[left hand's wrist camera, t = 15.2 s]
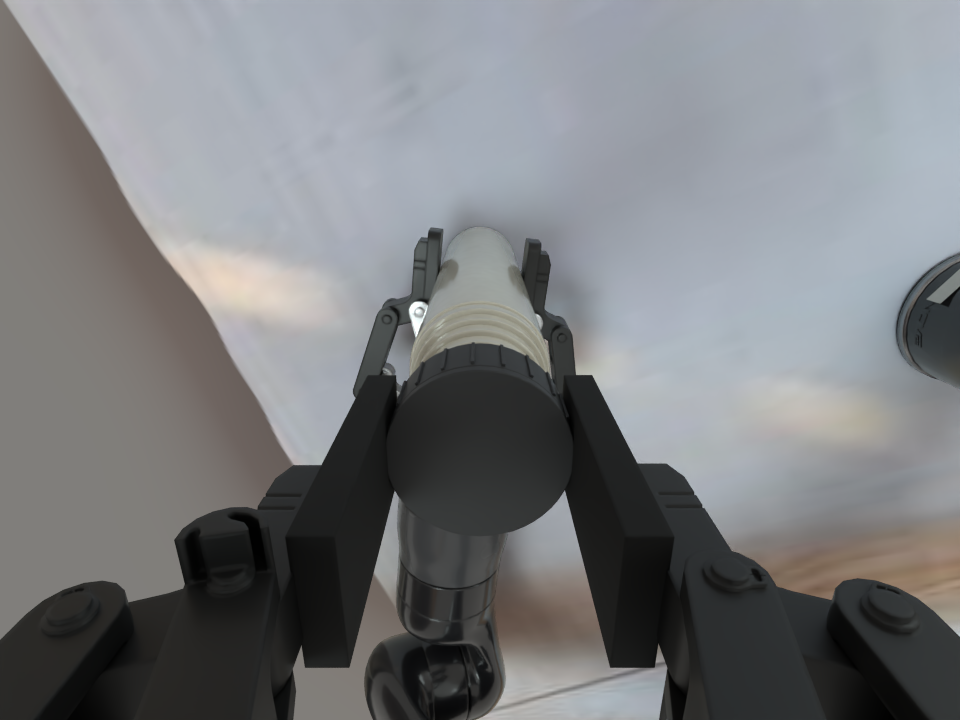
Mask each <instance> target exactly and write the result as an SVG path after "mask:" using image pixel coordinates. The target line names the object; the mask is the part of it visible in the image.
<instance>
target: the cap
mask: <svg viewBox="0 0 960 720" xmlns="http://www.w3.org/2000/svg"><path fill="white" fill-rule="evenodd" d="M569 419H570V417H569V414H568V412H567V409H566V406H565V403H564V400H563V397H562V394H561V393H560V394H559V393H558V391H557V389H556V387H555V384H554V383H553V381H552V380H551V377H550V374H549V373H548V371H547V372H545V371H544V370H543V369H542V368H541V367H540V366H539V365H538V364H537V363H536V362H534V361H533V360H532V359H530V358H529V356H528V355H527V354H526V356H525V355H524V354H522V353H520V352H517V351H515V350H513V349H510V348H507V347H504V346H503V345H502V344H500V346H499V345H494V344H484V343H476V344H475V342H472V344H465V345H460V346H456V347H452V348H449V349H447V348H445V349H444V351H442V352H440V353H437V354H436V355H434V356H432V357H431V358H429V359H428V360H426V361H425V362H423V361H422V362H421V363H420V366H419V367H418V368H417V369H416V370H415V371H414V372H413V373H412V375H411V376H410V377H409V379H408V380H407V381H404V383H403V385H402V388H401V391H400V394H399V397H398V400H397V403H396V407H395V410H394V413H393V416H392V419H391V422H390V425H389V428H388V432H387V436H386V449H387V464H388V476H389V479H390V482H391V484H392V486H393V488H394V490H395V492H396V493H397V495H398V496H399V498H400V499H401V500H402V501H403V503H404V504H405V505H406V506H407V507H408V508H409V509H410V510H411V511H412V512H413V513H414V514H415V515H417V516H418V517H420V518H421V519H422V520H424V521H426V522H427V523H429V524H431V525H433V526H435V527H437V528H440V529H442V530H445V531H448V532H452V533H455V534H460V535H466V536H493V535H499V534H504V533H508V532H511V531H514V530H517V529H520V528H522V527H524V526H526V525H528V524H530V523H532V522H534V521H535V520H537V519H538V518H540V517H541V516H542V515H544V514H545V513H546V512H547V511H548V510H549V509H550V508H552V506H553V505H554V504H555V503H556V502H557V501H558V499H559V498H560V497H561V495H562V493H563V492H564V490H565V488H566V486H567V484H568V482H569V480H570V477H571V473H572V459H573V443H574V442H573V435H572V432H571V429H570V425H569V422H568V420H569Z"/></svg>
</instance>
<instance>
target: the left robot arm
mask: <svg viewBox="0 0 960 720" xmlns="http://www.w3.org/2000/svg"><path fill="white" fill-rule="evenodd" d="M562 397H563V400H564V403H565V406H566V409H567V412H568V414H569V417H570V419H569V420H568V422H569V425H570V429H571V432H572V435H573V442H574V443H573V459H572V473H571V477H570V480H569V482H568V484H567V486H566V488H565V492H566V496H567V499H568V503H569V507H570V511H571V515H572V519H573V523H574V527H575V531H576V535H577V539H578V543H579V547H580V551H581V554H582V558H583V562H584V566H585V570H586V574H587V578H588V582H589V586H590V590H591V594H592V598H593V602H594V605H595V609H596V613H597V617H598V621H599V625H600V629H601V633H602V637H603V641H604V645H605V649H606V653H607V657H608V660H609V664H610V668H655V662H656V655H657V649H658V643H659V646H660V649H661V651H662V654H663V657H664V659H665V662H666V665H667V668H668V669H667V675H666V681H665V687H664V693H663V699H662V705H661V711H660V718H659V720H960V637H959V636H958V635H957V634H956V633H955V632H954V631H953V630H952V629H951V628H950V627H949V626H948V625H947V624H946V623H945V622H944V621H943V620H942V619H941V618H940V617H939V616H938V615H937V614H936V613H935V612H934V611H933V610H931V609H930V608H929V607H928V606H926V605H925V604H924V603H923V602H921V601H920V600H919V599H917V598H916V597H914V596H912V595H910V594H908V593H906V592H904V591H903V590H901V589H899V588H897V587H894V586H891V585H888V584H885V583H882V582H879V581H875V580H866V579H858V578H857V579H852V580H846V581H843V582H842V583H841V584H840V585H838V586H837V587H836V588H835V592H834V595H833V598H832V600H828V599H824V598H819V597H815V596H811V595H806V594H802V593H797V592H793V591H790V590H786V589H783V588H780V587H777V586H776V585H775V583H774V581H773V580H772V578H771V577H770V575H769V573H768V572H767V571H766V570H765V569H763V568H762V567H761V566H760V565H759V564H757V563H756V562H755V561H753V560H751V559H749V558H747V557H745V556H743V555H741V554H739V553H736V552H732V551H731V549H730V548H729V546H728V545H727V543H726V541H725V540H724V538H723V537H722V535H721V534H720V532H719V530H718V529H717V527H716V526H715V524H714V523H713V521H712V519H711V518H710V516H709V515H708V513H707V512H706V510H705V508H702V504H701V502H700V501H699V499H698V497H697V496H696V495H694V491H693V490H692V488H691V486H690V485H689V483H688V482H687V480H686V479H685V477H684V476H683V475H681V474H680V473H678V472H677V471H676V470H674V469H673V468H672V467H670V466H669V465H668V464H637V462H636V460H635V458H634V456H633V454H632V452H631V450H630V448H629V447H628V445H627V443H626V441H625V439H624V437H623V435H622V433H621V431H620V429H619V427H618V425H617V423H616V421H615V419H614V417H613V415H612V413H611V411H610V409H609V407H608V405H607V404H606V402H605V400H604V398H603V396H602V394H601V392H600V390H599V388H598V386H597V384H596V382H595V380H594V378H593V376H592V375H564V378H563V395H562ZM396 403H397V383H396V375H367V377H366V379H365V381H364V383H363V385H362V387H361V389H360V391H359V393H358V395H357V397H356V399H355V401H354V403H353V405H352V407H351V409H350V411H349V413H348V415H347V417H346V418H345V420H344V422H343V424H342V426H341V428H340V430H339V432H338V434H337V436H336V438H335V440H334V442H333V444H332V446H331V448H330V450H329V452H328V454H327V456H326V458H325V459H324V461H323V463H322V465H293V466H292V467H291V468H289V469H288V470H287V471H285V472H284V473H282V474H281V475H280V476H278V477H277V478H276V479H275V480H274V482H273V483H272V485H271V487H270V488H269V490H268V491H267V493H266V497H264V498H263V499H262V501H261V502H260V504H259V505H258V510H255V509H252V508H248V507H233V508H227V509H223V510H218V511H214V512H211V513H209V514H207V515H204V516H202V517H200V518H197V519H196V520H194V521H193V522H192V523H190V524H189V525H187V526H186V527H185V528H183V529H182V530H181V532H180V533H179V534H178V536H177V537H176V538H175V540H174V541H175V545H176V549H177V553H178V557H179V561H180V566H181V570H182V574H183V578H184V582H185V586H184V588H183V589H181V590H178V591H174V592H171V593H168V594H163V595H159V596H155V597H150V598H146V599H142V600H137V601H133V602H129V603H128V600H127V597H126V593H125V590H124V589H122V588H121V587H120V586H119V585H118V584H117V583H112V582H107V581H97V582H89V583H83V584H80V585H77V586H74V587H71V588H68V589H65V590H62V591H60V592H59V593H57V594H55V595H53V596H51V597H49V598H47V599H45V600H44V601H42V602H41V603H40V604H38V605H37V606H36V607H35V608H33V609H32V610H31V611H30V612H28V613H27V614H26V615H25V616H24V617H23V618H22V619H21V620H20V621H19V622H18V623H17V624H16V625H15V626H14V627H13V628H12V629H11V630H10V631H9V632H8V633H7V634H6V635H5V636H4V637H3V638H2V639H1V640H0V720H293V716H294V706H295V695H296V688H295V681H294V675H293V667H294V664H295V661H296V658H297V655H298V653H299V650H300V647H301V645H302V651H303V657H304V664H305V668H349V667H350V663H351V659H352V655H353V651H354V647H355V643H356V639H357V635H358V632H359V628H360V624H361V620H362V616H363V612H364V608H365V604H366V600H367V596H368V592H369V588H370V584H371V581H372V577H373V573H374V569H375V565H376V561H377V557H378V553H379V549H380V545H381V541H382V537H383V534H384V530H385V526H386V522H387V518H388V514H389V510H390V506H391V502H392V498H393V494H394V488H393V486H392V484H391V482H390V479H389V476H388V464H387V449H386V436H387V432H388V428H389V425H390V422H391V419H392V416H393V413H394V410H395V407H396Z"/></svg>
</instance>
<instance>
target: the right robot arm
mask: <svg viewBox="0 0 960 720" xmlns="http://www.w3.org/2000/svg"><path fill="white" fill-rule="evenodd" d="M442 241H443V229H439V228H430V230H429V232H428V238H424V237H421V239H420V240H419V241H418V244H417V246H416V248H415V250H414V266H413V281H412V293H411V294H410V295H409V296H407V297H404V298H400V299H395V298H391V299H388V300H387V301H386V302H385V303H384V305H383V307H382V309H381V310H380V311H379V312H378V314H377V316H376V319H375V322H374V326H373V329H372V332H371V335H370V338H369V341H368V344H367V348H366V351H365V354H364V357H363V360H362V363H361V366H360V370H359V373H358V376H357V379H356V382H355V385H354V388H353V394H354V396H355V398H356V397H357V395H358V393H359V391H360V389H361V387H362V385H363V383H364V381H365V379H366V377H367V375H395V368H394V367H393V366H392V365H391V364H389V363H386V360H387V357H388V354H389V351H390V348H391V345H392V343H393V340H394V337H395V334H396V331H397V328H398V325H403V324H407V323H412V326H413V330H414V333H415V336H417V333H418V331H419V328H420V325H421V322H422V319H423V316H424V314H425V311H426V308H427V305H428V302H429V299H430V297H431V294H432V291H433V288H434V285H435V282H436V280H437V277H438V274H439V271H440V266H441V253H442ZM550 267H551V264H550V259H549V255H548V254H547V252H546V251H541V242H540V241H539V240H536V239H527V238H526V242H525V248H524V256H523V263H522V270H521V275H522V278H523V281H524V284H525V286H526V289H527V292H528V295H529V298H530V301H531V304H532V306H533V309H534V312H535V315H536V318H537V321H538V324H539V326H540V329H541V332H542V335H543V338H544V339H546V340H548V346H549V356H550V365H551V375H552V379H551V380H552V381H553V383H554V384H555V387H556V389H557V391H558V393H559V394H560V393H561V394H562V395H563V378H564V375H576V371H575V360H574V349H573V337H572V333H571V331H570V329H569V327H568V325H567V324H566V322H565V320H564V319H563V318H562V317H560V316H554V315H552V314H550V313H548V312H547V311H545V309H544V305H545V299H546V292H547V286H548V279H549V273H550ZM897 338H898V344H899V348H900V351H901V353H902V355H903V356H904V358H905V360H906V361H907V362H908V363H909V364H910V365H911V366H912V367H913V368H915V369H916V370H918V371H919V372H921V373H923V374H925V375H927V376H929V377H932V378H935V379H938V380H941V381H943V382H945V383H947V384H949V385H951V386H953V387H955V388H958V389H960V254H959V255H956V256H954V257H952V258H950V259H948V260H946V261H944V262H943V263H941V264H939V265H938V266H936V267H935V268H934V269H932V270H931V271H930V272H929V273H928V274H926V275H925V276H924V277H923V278H922V279H921V280H920V281H919V283H918V284H917V285H916V286H915V287H914V289H913V290H912V291H911V293H910V294H909V296H908V298H907V299H906V301H905V303H904V305H903V308H902V310H901V313H900V316H899V320H898V327H897ZM396 383H397V382H396ZM401 388H402V386H401V385H399V384H398V383H397V400H398V397H399V394H400V391H401ZM397 528H398V539H399V561H398V576H397V587H396V606H397V612H398V616H399V618H400V621H401V623H402V625H403V626H404V628H405V629H406V630H407V631H408V632H406V633H403V634H399V635H396V636H392V637H389V638H387V639H385V640H383V641H382V642H380V643H379V644H378V645H377V646H376V648H375V649H374V650H373V652H372V654H371V656H370V658H369V660H368V663H367V666H366V671H365V678H364V687H365V696H366V700H367V704H368V708H369V711H370V713H371V716H372V718H373V720H476V719H479V718H481V717H483V716H485V715H486V714H488V713H489V712H490V711H491V710H492V709H493V708H494V707H495V706H496V705H497V703H498V702H499V700H500V698H501V696H502V694H503V691H504V688H505V682H506V675H505V667H504V661H503V657H502V653H501V649H500V645H499V639H498V633H497V626H496V617H495V605H494V598H495V592H496V584H497V577H498V570H499V564H500V559H501V555H502V552H503V549H504V546H505V543H506V539H507V535H508V533H504V534H499V535H493V536H466V535H460V534H455V533H452V532H448V531H445V530H442V529H440V528H437V527H435V526H433V525H431V524H429V523H427V522H426V521H424V520H422V519H421V518H420V517H418V516H417V515H415V514H414V513H413V512H412V511H411V510H410V509H409V508H408V507H407V506H406V505H405V504H404V503H403V501H402V500H401V499H400V498H399V503H398V518H397Z"/></svg>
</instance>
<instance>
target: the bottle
mask: <svg viewBox="0 0 960 720" xmlns="http://www.w3.org/2000/svg"><path fill="white" fill-rule="evenodd" d="M472 342H475V344H476V343H484V344H494V345H499V346H500V344H502V345H503V346H504V347H507V348H510V349H513V350H515V351H517V352H520V353H522V354H524V355H525V356H526V354H527V355H528V356H529V358H530V359H532V360H533V361H534V362H536V363H537V364H538V365H539V366H540V367H541V368H542V369H543V370H544V371H545V372H547V371H548V373H549V374H550V361H549V354H548V350H547V347H546V344H545V341H544V338H543V335H542V332H541V329H540V326H539V324H538V321H537V318H536V315H535V312H534V309H533V306H532V304H531V301H530V298H529V295H528V292H527V289H526V286H525V284H524V281H523V278H522V275H521V272H520V269H519V267H518V264H517V261H516V258H515V255H514V252H513V249H512V247H511V245H510V243H509V242H508V241H507V239H506V238H505V237H504V236H503V235H502V234H500V233H499V232H497V231H495V230H493V229H490V228H486V227H473V228H469V229H466V230H464V231H462V232H461V233H459V234H458V235H457V236H456V237H455V238H454V239H453V240H452V241H451V243H450V244H449V246H448V249H447V251H446V254H445V257H444V260H443V263H442V265H441V268H440V271H439V274H438V277H437V280H436V282H435V285H434V288H433V291H432V294H431V297H430V299H429V302H428V305H427V308H426V311H425V314H424V316H423V319H422V322H421V325H420V328H419V331H418V333H417V336H416V339H415V342H414V345H413V348H412V351H411V357H410V375H409V376H411V375H412V373H413V372H414V371H415V370H416V369H417V368H418V367H419V366H420V363H421V362H422V361H423V362H425V361H426V360H428V359H429V358H431V357H432V356H434V355H436V354H437V353H440V352H442V351H444V349H445V348H447V349H449V348H452V347H456V346H460V345H465V344H472Z"/></svg>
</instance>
